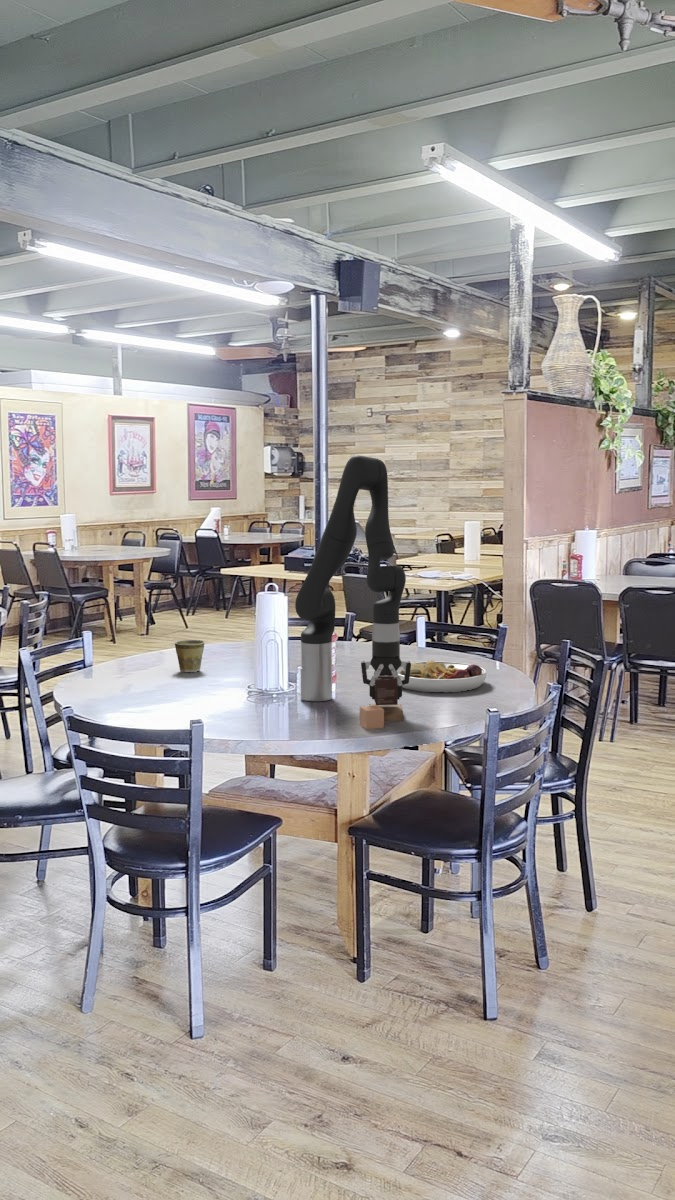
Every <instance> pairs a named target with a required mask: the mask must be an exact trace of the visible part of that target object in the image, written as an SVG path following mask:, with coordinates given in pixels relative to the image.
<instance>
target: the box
mask: <svg viewBox="0 0 675 1200" xmlns="http://www.w3.org/2000/svg"><path fill="white" fill-rule="evenodd" d="M397 681H398V680H397V678H394V676H393V675H392V676H387V675H385V676H380V675H379V676H378V678H376V679H375V684H374V685H375V699H373V700H374V704H376V705H397V704H399V703H398V701H399V699H398V696H397V685H398V683H397Z"/></svg>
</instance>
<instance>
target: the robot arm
mask: <svg viewBox="0 0 675 1200" xmlns="http://www.w3.org/2000/svg"><path fill="white" fill-rule="evenodd" d="M388 478H389V477H388V470H387V466H386V464H385V462H384V461H383V460H382V459H379V458H375V457H371V456H370V457H369V456H364V455H359V454H358V455H352V456H351V457H350V458H348V460H347V462H346V464H345V466H344V469H343V471H342V476H341V480H340V483H339V487H338V489H337V494H336V498H335V501H334V504H333V507H332V510H331V512H330V515H329V519H328V521H327V523H326V525H325V528H324V530H323V533H322V536H321V538H320V542H319V543H318V544H319V545H318V548H317V551H316V553H315V556H314V558H313V561H312V563H311V565H310V568H309V571H308V573H307V575H306V577H305V579H304V581H303V583H302V585H301V587H300V588H299V591H298V592H297V595H296V599H295V605H294V608H295V611H296V615H297V616H298V617H299V618H300V619H302V620H303V621H304V620H305V621H308V624H307V626H306V628H304V630H302V631H301V633H300V701H307V702H326V701H330V700H332V699H333V658H332V657H333V635H334V633H335V627H336V625H335V624H336V599H335V596H334V594H333V592H332V591H331V590H330V589H329V588H328V585H329V583H330V581H331V579H332V578H333V576H335V574H336V573H338V572H337V571H339V569H340V568H341V567H342V566H343V565H344V564H345V562H346V561H347V559H348V557H349V556H350V555H351V551H352V549H353V547H354V544H355V541H356V538H357V536H358V535H357V533H358V530H357V528H358V527H357V523H356V518H355V512H354V508H355V503H356V499H357V497H358V493H359V491H360V490H364V491H368V493H369V495H370V500H371V508H370V513H369V515H368V517H367V520H366V522H365V529H364V532H365V533H364V535H365V543H366V548H367V553H368V554H367V555H368V559H367V572H366V584H367V587H368V588H369V589H370V591H371V592H373V593H388V594H387V596H386V597H385V598H384V599H381V600H377V601H375V602H374V603H373V608H372V612H373V614H372V615H373V617H372V618H373V619H372V620H373V621H372V631H371V632H372V633H371V640H372V641H371V644H372V645H371V646H372V648H371V650H372V651H371V657H372V658H371V659H370V661H369V660H368V661H365V660H362V661H360V666H361V675H362V676H361V677H362V683H363V684H364V685H365V684H366V685H367V686H369V698H371V699H372V700H374V699H375V685H374V684H375V679H376V678H378V676H379V675H380V676H385V675H387V676H392V675H393V676H394V678H397V680H398V681H397V683H398V685H397V696H398V700H401V699H400V698H402V696H403V687H402V686H403V685H404V684H408V683H409V677H410V669H411V663H412V662H411V661H410V660H408V661H407V660H406V661H404V660H401V658H400V656H401V653H400V649H401V648H400V647H401V644H400V643H401V642H400V641H401V632H400V606H401V602H402V598H403V597H402V596H403V593H404V589H405V586H406V583H407V582H406V581H407V577H406V573H405V571H404V569H403V568H402V567H401V566H399V565H381V564H380V563H381V562H383V561H385V560H389V559H390V558H392V557H393V556H394V553H395V550H394V549H395V548H394V544H393V539H392V532H391V529H390V527H391V525H390V520H389V518H390V517H389V486H388V485H389V479H388ZM401 665H402V666H403V669H405V677H404V679H402V680H401V679H400V677H399V675H398V673H397V670H398V668H399V667H400V666H401ZM370 666H371V667H372V669H373V670H374V672H373V673H372V676H371V678H370V679H369V678H368V674H367V670H369V668H370Z"/></svg>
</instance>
